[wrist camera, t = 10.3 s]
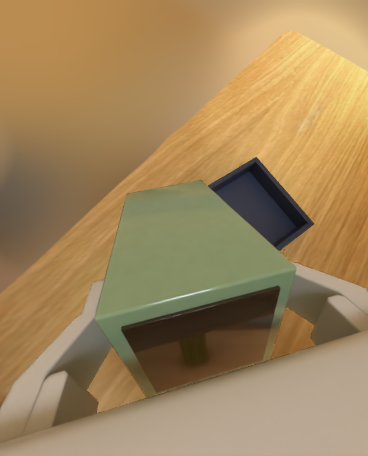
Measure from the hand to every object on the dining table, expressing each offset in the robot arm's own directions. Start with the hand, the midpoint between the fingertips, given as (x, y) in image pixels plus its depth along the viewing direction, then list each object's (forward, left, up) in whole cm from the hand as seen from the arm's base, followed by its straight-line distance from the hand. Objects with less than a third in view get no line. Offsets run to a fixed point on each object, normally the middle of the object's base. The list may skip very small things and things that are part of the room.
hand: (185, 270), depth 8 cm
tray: (-14, -1, -18) cm, 22 cm away
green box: (0, -1, -6) cm, 6 cm away
